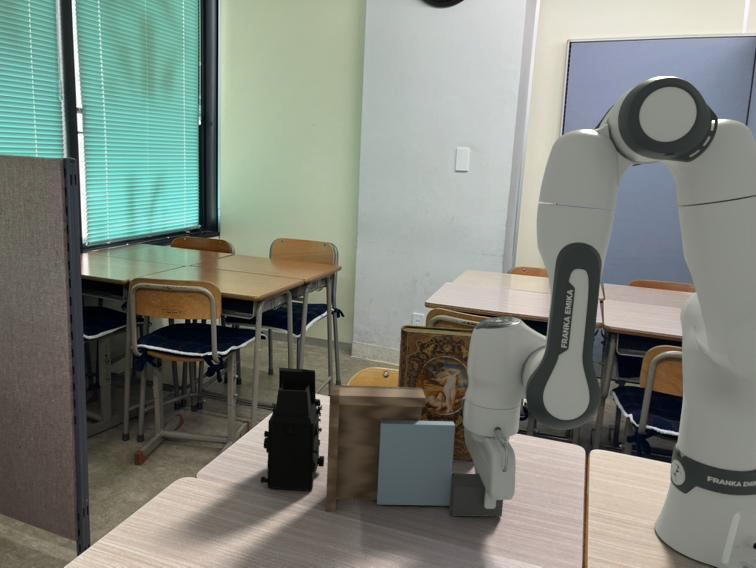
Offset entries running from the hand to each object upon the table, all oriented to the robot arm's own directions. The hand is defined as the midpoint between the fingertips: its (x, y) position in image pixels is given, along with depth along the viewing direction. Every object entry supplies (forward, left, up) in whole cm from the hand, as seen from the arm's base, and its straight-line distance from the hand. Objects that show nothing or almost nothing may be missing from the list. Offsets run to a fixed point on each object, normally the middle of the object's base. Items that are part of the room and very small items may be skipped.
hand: (484, 496), depth 98 cm
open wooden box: (+18, -1, -2) cm, 19 cm away
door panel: (+12, -1, -2) cm, 12 cm away
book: (+5, -21, -3) cm, 22 cm away
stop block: (+2, 0, -2) cm, 3 cm away
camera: (+32, -11, -3) cm, 34 cm away
